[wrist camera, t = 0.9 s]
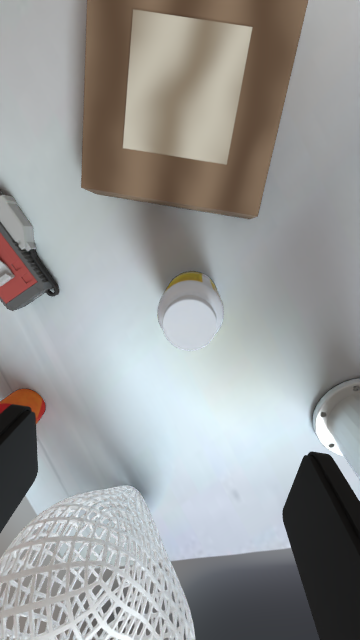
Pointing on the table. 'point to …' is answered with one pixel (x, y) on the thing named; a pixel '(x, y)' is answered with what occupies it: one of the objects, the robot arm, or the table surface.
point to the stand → (186, 99)
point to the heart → (47, 571)
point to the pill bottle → (190, 311)
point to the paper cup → (25, 401)
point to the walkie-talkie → (20, 259)
